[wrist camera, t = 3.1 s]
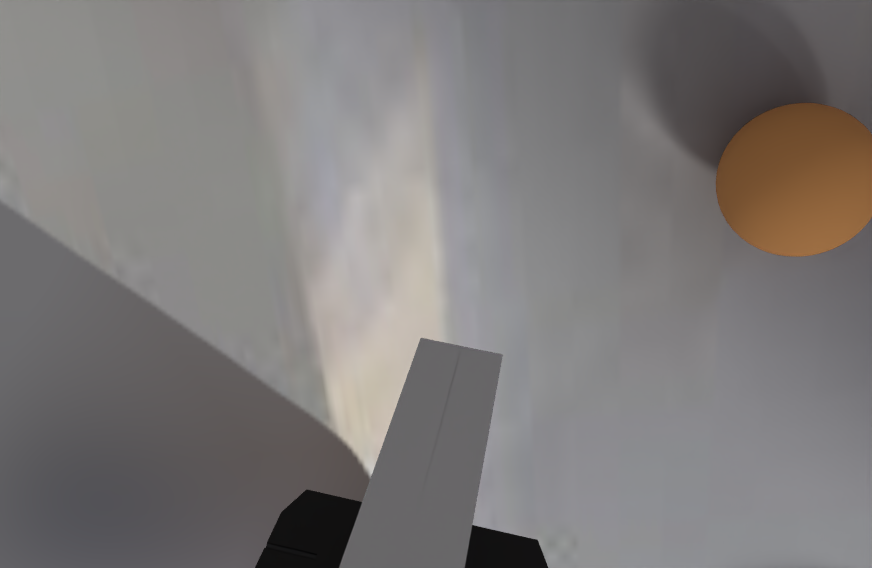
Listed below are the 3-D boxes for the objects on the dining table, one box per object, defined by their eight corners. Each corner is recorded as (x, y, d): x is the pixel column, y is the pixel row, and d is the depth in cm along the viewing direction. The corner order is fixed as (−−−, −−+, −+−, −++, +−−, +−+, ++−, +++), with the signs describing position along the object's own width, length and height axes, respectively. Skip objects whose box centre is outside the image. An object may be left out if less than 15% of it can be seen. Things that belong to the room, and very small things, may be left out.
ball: (882, 98, 28) (941, 147, 23) (825, 230, 30) (867, 297, 26) (732, 74, 28) (760, 116, 23) (689, 205, 31) (706, 267, 26)
